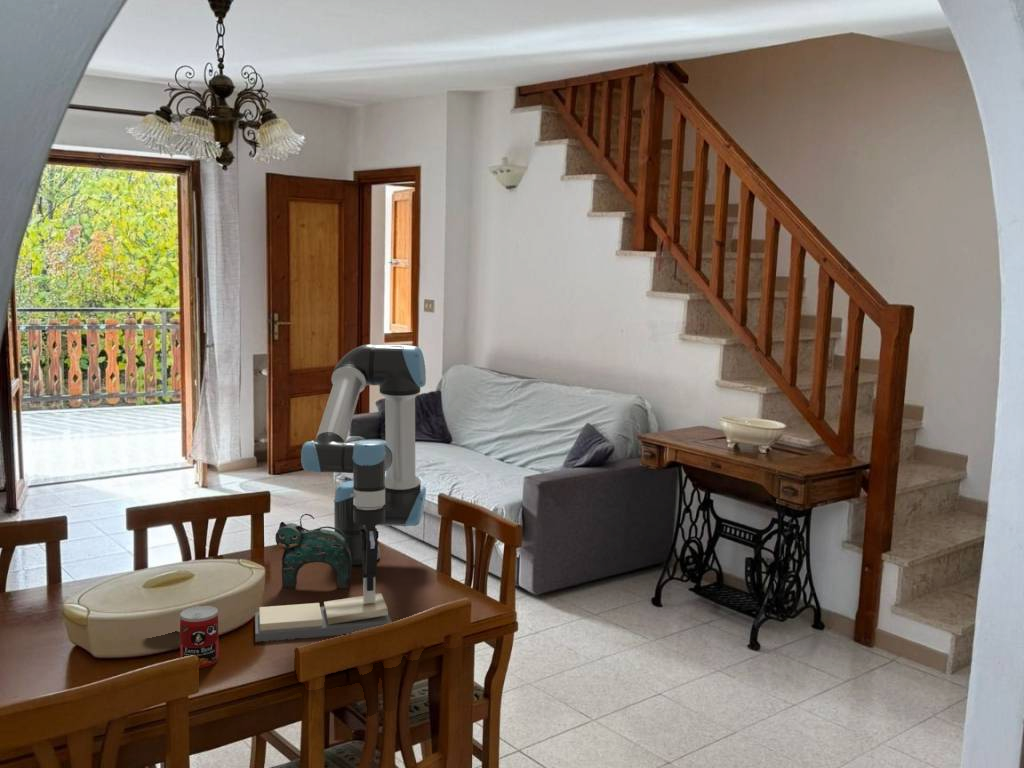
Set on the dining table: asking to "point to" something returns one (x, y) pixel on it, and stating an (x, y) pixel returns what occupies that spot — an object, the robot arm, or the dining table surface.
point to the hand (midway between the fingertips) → (369, 602)
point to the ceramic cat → (313, 552)
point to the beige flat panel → (354, 609)
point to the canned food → (199, 634)
